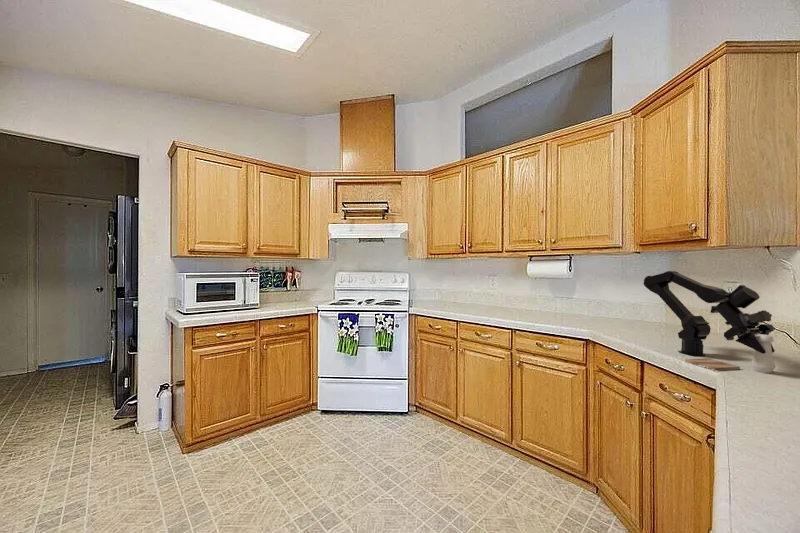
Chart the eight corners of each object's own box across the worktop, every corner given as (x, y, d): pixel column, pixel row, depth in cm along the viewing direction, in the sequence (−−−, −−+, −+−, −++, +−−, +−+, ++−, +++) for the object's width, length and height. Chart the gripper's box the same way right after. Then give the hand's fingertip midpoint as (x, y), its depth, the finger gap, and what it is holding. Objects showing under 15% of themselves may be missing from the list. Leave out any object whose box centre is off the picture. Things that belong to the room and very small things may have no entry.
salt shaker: (751, 368, 135) (752, 332, 134) (773, 371, 131) (775, 334, 130) (752, 371, 130) (754, 334, 130) (775, 375, 126) (777, 337, 126)
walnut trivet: (685, 362, 141) (685, 359, 141) (708, 360, 143) (708, 358, 143) (715, 370, 130) (715, 368, 130) (739, 369, 133) (740, 366, 133)
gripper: (734, 303, 131) (772, 341, 121) (769, 302, 136) (808, 338, 126) (709, 321, 138) (743, 358, 128) (743, 319, 144) (778, 355, 134)
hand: (769, 352), depth 129 cm, fingers open, 4 cm apart
